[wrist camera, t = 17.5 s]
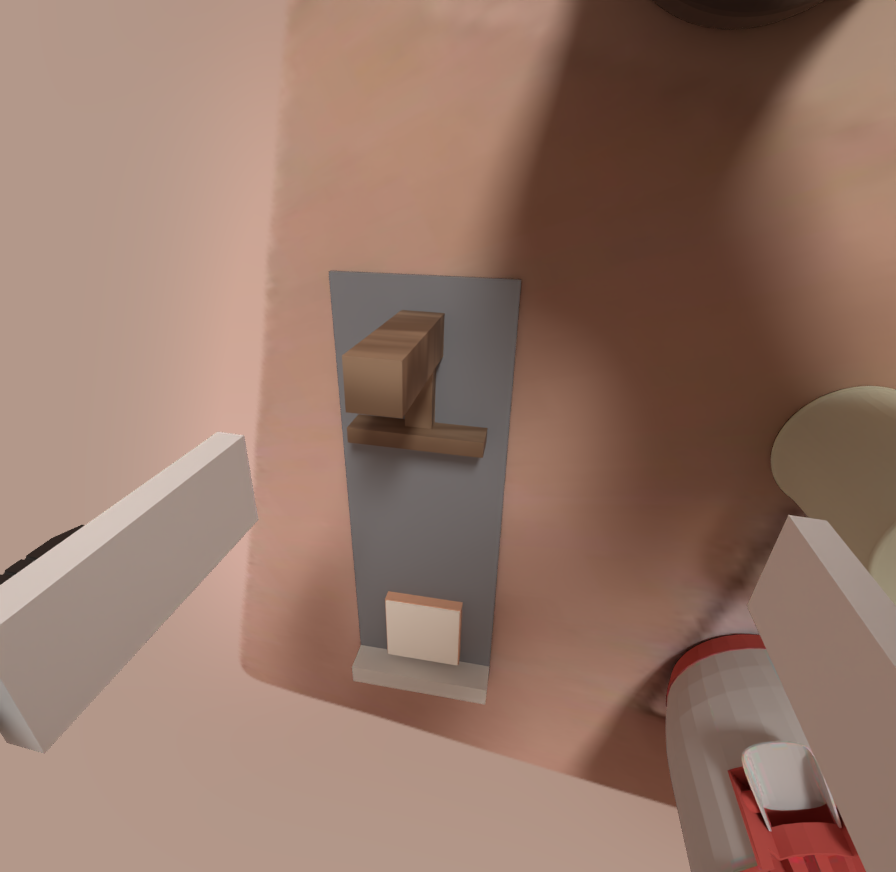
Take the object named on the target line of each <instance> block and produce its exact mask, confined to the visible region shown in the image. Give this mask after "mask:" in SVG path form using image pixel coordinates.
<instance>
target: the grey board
mask: <svg viewBox="0 0 896 872" xmlns="http://www.w3.org/2000/svg"><path fill="white" fill-rule="evenodd" d="M329 281H330V292H331V304H332V315H333V327H334V338H335V350H336V362H337V373H338V385H339V396H340V408H341V419H342V431H343V443H344V454H345V466H346V477H347V489H348V500H349V512H350V524H351V535H352V547H353V558H354V570H355V581H356V593H357V605H358V616H359V628H360V639H361V646H360V649H359V651H358V653H357V656H356V658H355V661H354V663H353V665H352V673H353V681H357V682H362V683H368V684H373V685H379V686H384V687H390V688H395V689H401V690H407V691H412V692H418V693H423V694H429V695H434V696H440V697H446V698H451V699H457V700H462V701H468V702H473V703H479V704H484V705H485V703H486V695H487V686H488V678H489V666H490V654H491V642H492V630H493V618H494V605H495V593H496V581H497V569H498V557H499V545H500V533H501V521H502V509H503V496H504V484H505V472H506V460H507V448H508V436H509V424H510V412H511V400H512V387H513V375H514V363H515V351H516V339H517V327H518V315H519V303H520V291H521V279H503V278H481V277H459V276H437V275H415V274H393V273H371V272H349V271H329ZM401 310H410V311H423V312H437V313H445V317H444V350H443V357H442V359H441V360H440V362H439V363H438V365H437V366H436V391H435V422H436V423H446V424H455V425H464V426H474V427H483V428H488V429H487V442H486V446H485V451H484V455H483V458H478V457H469V456H460V455H452V454H443V453H435V452H426V451H417V450H409V449H400V448H391V447H383V446H374V445H366V444H357V443H348V439H347V427H348V426H349V425H350V423H351V422H352V421H353V420H354V419H355V418H356V417H357V415H358V414H356V413H346V410H345V395H344V379H343V364H342V355H343V354H345V353H346V352H347V351H349V350H350V349H351V348H352V347H354V346H355V345H356V344H358V343H359V342H360V341H362V340H363V339H364V338H366V337H367V336H368V335H369V334H371V333H372V332H373V331H375V330H376V329H377V328H379V327H380V326H381V325H383V324H384V323H385V322H386V321H388V320H389V319H390V318H392V317H393V316H394V315H396V314H397V313H398V312H400V311H401ZM361 415H365V414H361ZM371 416H375V415H371ZM380 417H384V416H380ZM389 418H393V417H389ZM399 419H405V416H404V417H403V418H399ZM388 591H390V592H397V593H404V594H410V595H417V596H424V597H430V598H437V599H444V600H450V601H457V602H463V606H462V628H461V650H460V660H459V665H457V666H456V665H451V664H445V663H439V662H433V661H427V660H421V659H415V658H409V657H403V656H398V655H392V654H388V649H387V629H386V609H385V598H386V595H387V593H388Z"/></svg>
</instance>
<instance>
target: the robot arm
mask: <svg viewBox="0 0 896 872" xmlns="http://www.w3.org/2000/svg"><path fill="white" fill-rule="evenodd" d="M653 1H654V2H655V3H656V4H657V5H658V6H660V7H661V8H663V9H664V10H666V11H667V12H669V13H670V14H672V15H674V16H676V17H678V18H680V19H682V20H685V21H687V22H690V23H693V24H696V25H699V26H704V27H709V28H717V29H744V28H752V27H758V26H763V25H767V24H771V23H774V22H777V21H780V20H784V19H786V18H789V17H791V16H794V15H796V14H799V13H801V12H803V11H805V10H807V9H809V8H811V7H813V6H815V5H817V4H818V3H820V2H822V1H824V0H653ZM257 521H258V514H257V509H256V503H255V497H254V491H253V485H252V479H251V473H250V467H249V461H248V456H247V450H246V444H245V438H244V435H238V434H231V433H224V432H216V433H215V434H214V435H212V436H211V437H209V438H208V439H207V440H205V441H204V442H202V443H201V444H199V445H198V446H197V447H195V448H194V449H192V450H191V451H190V452H188V453H187V454H185V455H184V456H182V457H181V458H180V459H178V460H177V461H175V462H174V463H173V464H171V465H170V466H168V467H167V468H166V469H164V470H163V471H161V472H160V473H158V474H157V475H156V476H154V477H153V478H152V479H150V480H149V481H147V482H146V483H145V484H143V485H141V486H140V487H139V488H137V489H136V490H134V491H133V492H132V493H130V494H129V495H127V496H126V497H124V498H123V499H122V500H120V501H119V502H118V503H116V504H115V505H113V506H112V507H110V508H109V509H108V510H106V511H105V512H103V513H102V514H100V515H99V516H98V517H96V518H95V519H93V520H92V521H90V522H89V523H88V524H86V525H80V526H78V527H76V528H74V529H71V530H69V531H67V532H65V533H62V534H60V535H58V536H56V537H53V538H51V539H50V540H49V541H47V542H46V543H44V544H43V545H41V546H40V547H38V548H37V549H35V550H34V551H32V552H31V553H30V554H28V555H27V556H26V559H25V560H22V559H21V560H20V561H18V562H16V563H15V564H13V565H12V566H11V567H9V568H8V569H6V570H5V573H4V574H3V575H0V733H1V734H2V736H3V737H4V739H5V740H6V742H7V743H10V744H13V745H17V746H20V747H24V748H28V749H31V750H34V751H38V752H41V753H45V752H46V751H47V750H48V749H49V748H50V747H51V746H52V745H53V744H54V743H55V742H56V740H57V739H58V738H59V737H60V736H61V735H62V734H63V733H64V732H65V731H66V730H67V728H68V727H69V726H70V725H71V724H72V723H73V722H74V721H75V720H76V719H77V717H78V716H79V715H80V714H81V713H82V712H83V711H84V710H85V709H86V708H87V707H88V705H89V704H90V703H91V702H92V701H93V700H94V699H95V698H96V697H97V696H98V695H99V693H100V692H101V691H102V690H103V689H104V688H105V687H106V686H107V685H108V684H109V683H110V681H111V680H112V679H113V678H114V677H115V676H116V675H117V674H118V673H119V672H120V670H121V669H122V668H123V667H124V666H125V665H126V664H127V663H128V661H130V660H131V658H132V657H133V656H134V655H135V654H136V653H137V652H138V651H139V650H140V649H141V647H142V646H143V645H144V644H145V643H146V642H147V641H148V640H149V639H150V638H151V637H152V635H153V634H154V633H155V632H156V631H157V630H158V629H159V628H160V627H161V626H162V625H163V623H164V622H165V621H166V620H167V619H168V618H169V617H170V616H171V615H172V614H173V612H174V611H175V610H176V609H177V608H178V607H179V606H180V605H181V604H182V603H183V602H184V600H185V599H186V598H187V597H188V596H189V595H190V594H191V593H192V592H193V591H194V590H195V588H196V587H197V586H198V585H199V584H200V583H201V582H202V581H203V580H204V578H206V576H207V575H208V574H209V573H210V572H211V571H212V570H213V569H214V568H215V567H216V566H217V564H218V563H219V562H220V561H221V560H222V559H223V558H224V557H225V556H226V555H227V554H228V552H229V551H230V550H231V549H232V548H233V547H234V546H235V545H236V544H237V543H238V542H239V540H240V539H241V538H242V537H243V536H244V535H245V534H246V533H247V532H248V531H249V529H250V528H251V527H252V526H253V525H254V524H255V523H256V522H257ZM747 607H748V609H749V612H750V614H751V616H752V618H753V621H754V623H755V625H756V627H757V630H758V632H759V634H760V636H761V638H762V641H763V643H764V645H765V647H766V650H767V652H768V654H769V656H770V659H771V661H772V663H773V665H774V667H775V670H776V672H777V674H778V676H779V679H780V681H781V683H782V685H783V688H784V690H785V692H786V694H787V696H788V699H789V701H790V703H791V705H792V708H793V710H794V712H795V714H796V717H797V719H798V721H799V723H800V725H801V728H802V730H803V732H804V734H805V737H806V739H807V741H808V743H809V746H810V748H811V750H812V752H813V755H814V757H815V759H816V761H817V763H818V766H819V768H820V770H821V772H822V775H823V777H824V779H825V781H826V784H827V786H828V788H829V790H830V792H831V795H832V797H833V799H834V801H835V804H836V806H837V808H838V810H839V813H840V815H841V817H842V819H843V821H844V824H845V826H846V828H847V830H848V833H849V835H850V837H851V839H852V842H853V844H854V846H855V848H856V850H857V853H858V855H859V857H860V859H861V862H862V864H863V866H864V868H865V871H866V872H896V606H895V604H894V603H893V602H892V601H891V599H890V598H889V597H888V596H887V594H886V593H885V592H884V591H883V589H882V588H881V587H880V586H879V585H878V583H877V582H876V581H875V580H874V578H873V577H872V576H871V575H870V573H869V572H868V571H867V570H866V568H865V567H864V566H863V565H862V563H861V562H860V561H859V560H858V558H857V557H856V556H855V555H854V553H853V552H852V551H851V550H850V549H849V547H848V546H847V545H846V544H845V542H844V541H843V540H842V539H841V537H840V536H839V535H838V534H837V532H836V531H835V530H834V529H833V527H832V526H831V525H830V524H829V522H828V521H827V520H820V519H813V518H806V517H799V516H793V515H788V517H787V519H786V521H785V524H784V526H783V528H782V530H781V532H780V534H779V537H778V539H777V541H776V543H775V545H774V547H773V550H772V552H771V554H770V556H769V558H768V561H767V563H766V565H765V567H764V569H763V571H762V574H761V576H760V578H759V580H758V582H757V585H756V587H755V589H754V591H753V593H752V595H751V598H750V600H749V602H748V604H747Z"/></svg>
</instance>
